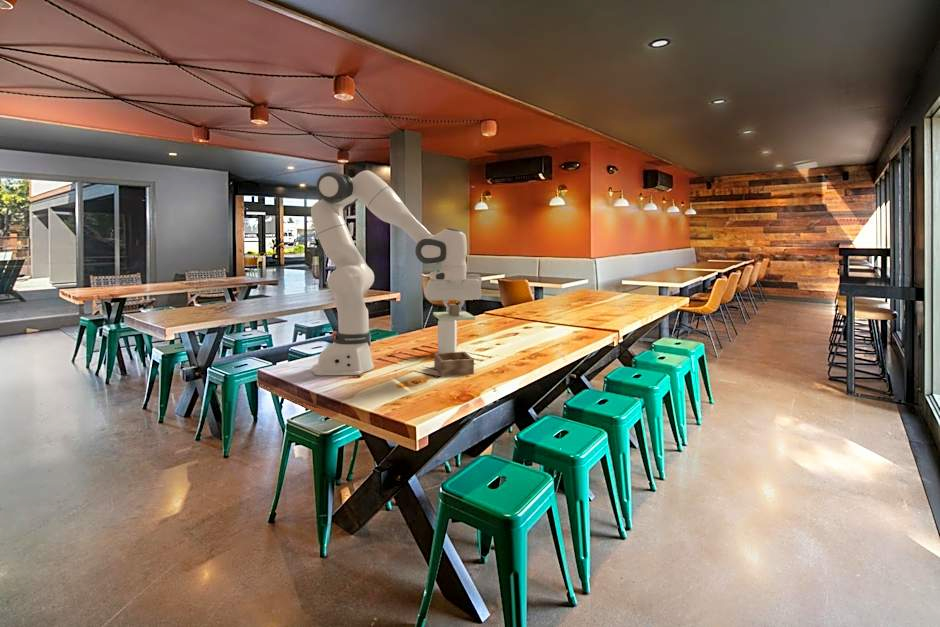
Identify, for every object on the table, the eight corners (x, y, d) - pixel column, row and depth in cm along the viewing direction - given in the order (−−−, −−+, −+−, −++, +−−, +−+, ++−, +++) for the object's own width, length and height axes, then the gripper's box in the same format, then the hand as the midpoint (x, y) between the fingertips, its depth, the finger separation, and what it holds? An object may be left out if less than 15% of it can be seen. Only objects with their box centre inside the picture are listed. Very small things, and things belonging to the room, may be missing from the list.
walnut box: (441, 377, 175) (441, 361, 174) (434, 368, 186) (434, 353, 185) (473, 375, 178) (473, 359, 177) (464, 366, 190) (464, 351, 189)
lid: (440, 321, 171) (440, 308, 170) (433, 314, 183) (433, 302, 182) (475, 319, 174) (475, 307, 174) (465, 313, 186) (465, 302, 186)
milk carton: (456, 352, 211) (457, 309, 208) (454, 356, 204) (454, 311, 201) (440, 352, 212) (440, 308, 209) (437, 356, 205) (437, 311, 202)
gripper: (479, 273, 182) (478, 309, 184) (424, 273, 176) (424, 311, 179) (484, 274, 176) (483, 312, 178) (428, 275, 170) (428, 314, 173)
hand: (453, 312), depth 178 cm, fingers closed on lid, 2 cm apart
